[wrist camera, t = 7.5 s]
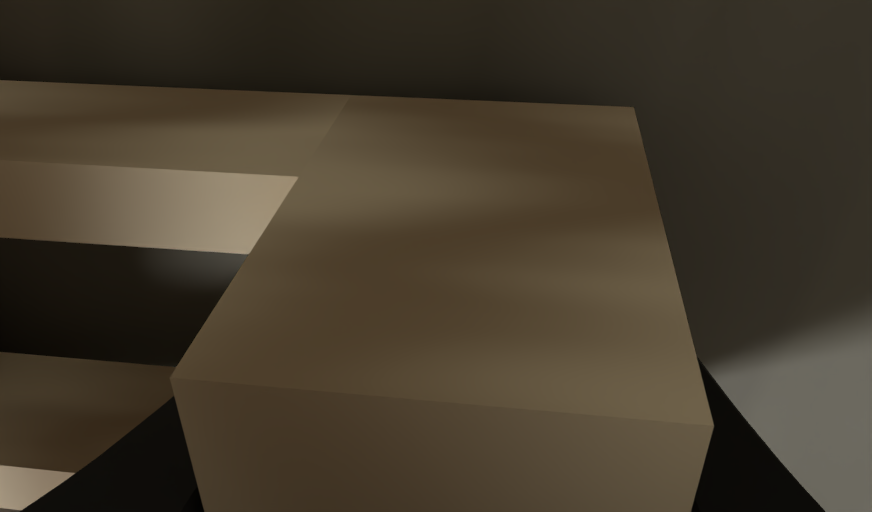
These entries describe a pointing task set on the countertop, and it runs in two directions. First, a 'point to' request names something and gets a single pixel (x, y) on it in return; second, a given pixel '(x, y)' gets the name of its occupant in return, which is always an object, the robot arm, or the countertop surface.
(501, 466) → the tan boxy piece
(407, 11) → the countertop surface
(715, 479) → the robot arm
